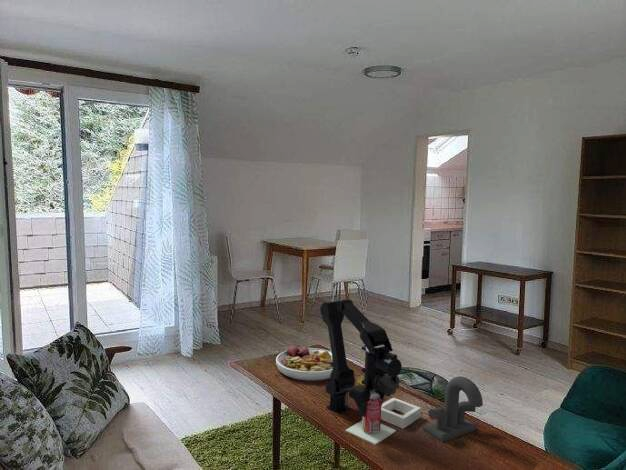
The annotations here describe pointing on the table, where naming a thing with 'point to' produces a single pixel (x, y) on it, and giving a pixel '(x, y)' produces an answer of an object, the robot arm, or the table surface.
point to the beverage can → (372, 414)
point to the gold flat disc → (360, 381)
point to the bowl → (305, 363)
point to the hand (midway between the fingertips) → (371, 411)
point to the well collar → (410, 411)
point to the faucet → (455, 411)
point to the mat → (371, 437)
